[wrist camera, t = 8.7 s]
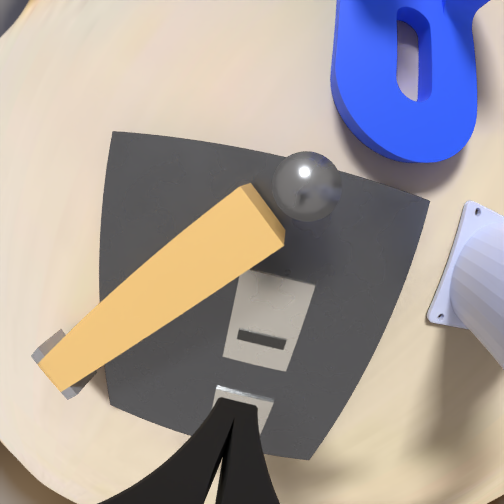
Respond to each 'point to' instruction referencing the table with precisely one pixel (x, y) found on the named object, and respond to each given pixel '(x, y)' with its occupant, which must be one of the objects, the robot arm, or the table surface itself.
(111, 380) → the panel
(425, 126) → the bracket
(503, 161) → the table surface
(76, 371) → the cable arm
